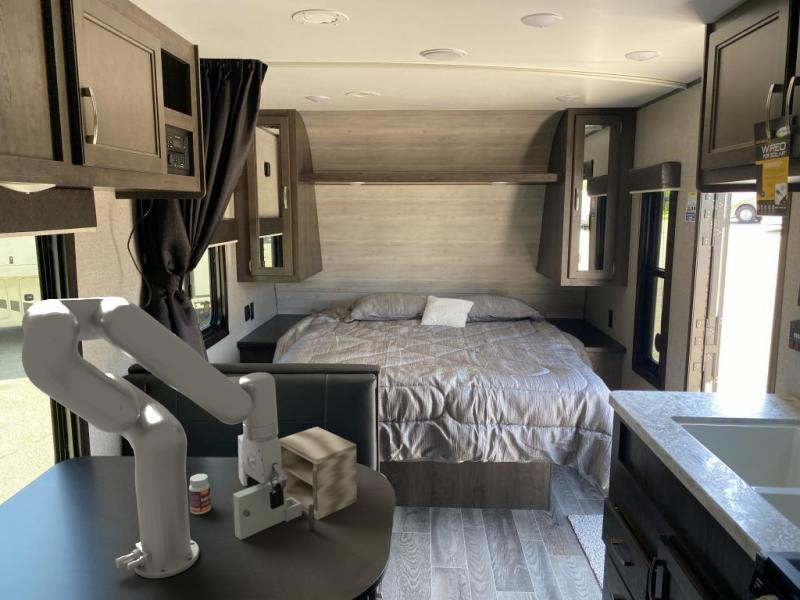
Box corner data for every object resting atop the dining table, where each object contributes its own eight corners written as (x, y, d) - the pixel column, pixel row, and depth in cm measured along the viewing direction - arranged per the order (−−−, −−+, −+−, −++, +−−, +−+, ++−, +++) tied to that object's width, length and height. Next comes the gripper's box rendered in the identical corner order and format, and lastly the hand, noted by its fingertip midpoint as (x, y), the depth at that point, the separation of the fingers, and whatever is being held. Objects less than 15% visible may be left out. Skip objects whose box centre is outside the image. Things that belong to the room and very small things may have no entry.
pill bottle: (204, 515, 135) (202, 482, 134) (186, 513, 136) (184, 481, 135) (214, 505, 140) (213, 473, 139) (197, 503, 141) (195, 471, 140)
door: (242, 541, 125) (240, 499, 123) (233, 533, 128) (231, 492, 126) (302, 515, 136) (300, 475, 134) (291, 508, 139) (290, 469, 137)
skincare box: (238, 477, 154) (236, 435, 152) (254, 473, 157) (252, 432, 155) (243, 487, 149) (241, 443, 147) (260, 483, 151) (258, 440, 149)
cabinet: (311, 532, 129) (309, 469, 126) (265, 501, 142) (263, 444, 140) (365, 506, 140) (364, 448, 137) (318, 479, 153) (317, 426, 151)
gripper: (226, 422, 131) (231, 491, 134) (266, 445, 119) (271, 520, 122) (255, 413, 136) (260, 480, 139) (297, 434, 124) (301, 506, 127)
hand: (265, 498), depth 130 cm, fingers open, 9 cm apart
